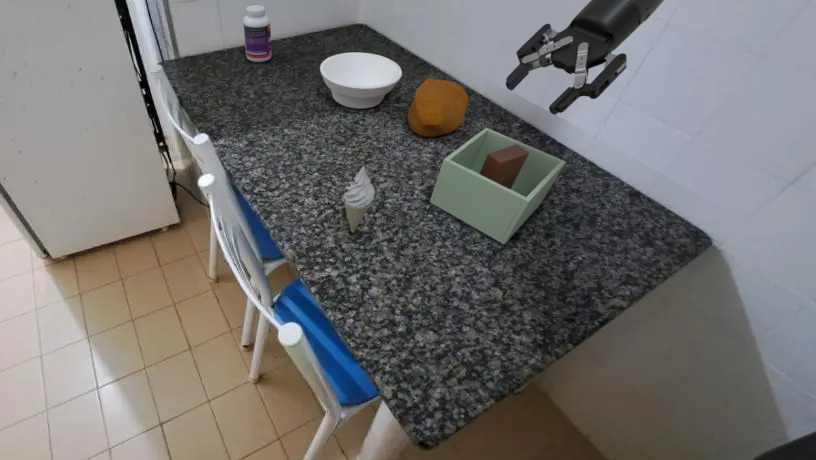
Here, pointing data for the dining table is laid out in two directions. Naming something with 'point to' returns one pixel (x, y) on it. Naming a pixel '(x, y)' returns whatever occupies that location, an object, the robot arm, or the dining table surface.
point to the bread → (437, 108)
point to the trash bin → (493, 186)
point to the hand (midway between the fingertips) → (529, 98)
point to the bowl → (360, 78)
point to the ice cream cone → (358, 198)
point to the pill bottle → (257, 34)
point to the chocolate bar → (504, 165)
